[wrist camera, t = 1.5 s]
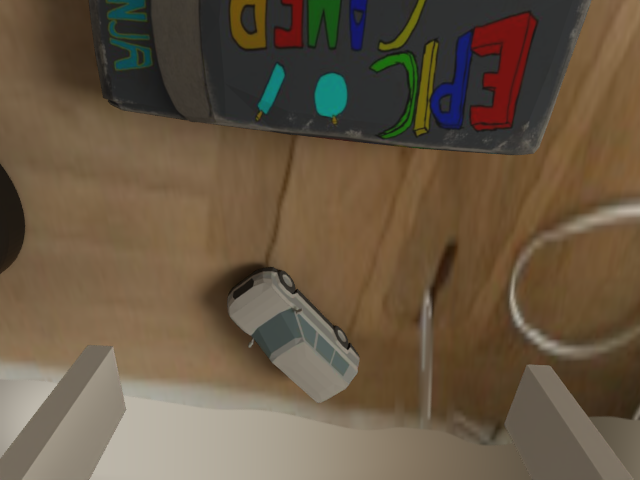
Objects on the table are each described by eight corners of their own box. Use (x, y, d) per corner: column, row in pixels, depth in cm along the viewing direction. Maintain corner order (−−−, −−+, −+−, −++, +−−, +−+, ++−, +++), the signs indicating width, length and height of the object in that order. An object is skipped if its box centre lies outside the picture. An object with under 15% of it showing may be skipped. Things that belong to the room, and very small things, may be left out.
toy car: (271, 252, 33) (265, 284, 29) (362, 345, 37) (368, 386, 33) (222, 289, 35) (208, 325, 30) (314, 374, 39) (314, 417, 35)
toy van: (122, -90, 23) (-1, -178, 14) (531, -32, 25) (657, -78, 16) (138, 102, 28) (53, 127, 19) (481, 141, 29) (556, 182, 20)
